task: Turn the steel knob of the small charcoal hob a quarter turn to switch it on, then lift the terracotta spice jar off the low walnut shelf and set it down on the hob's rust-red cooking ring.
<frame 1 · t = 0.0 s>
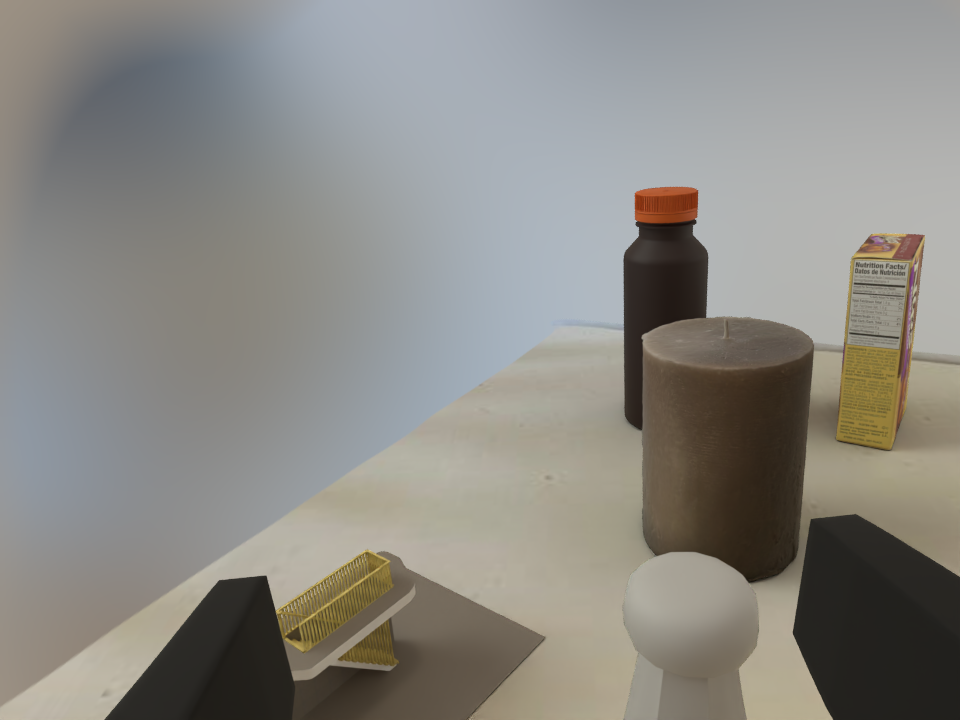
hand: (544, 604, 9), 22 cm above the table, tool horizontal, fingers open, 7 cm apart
bottle: (663, 419, 63), on the table
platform: (350, 696, 36), on the table
candy box: (869, 426, 59), on the table
pillar candle: (716, 538, 47), on the table
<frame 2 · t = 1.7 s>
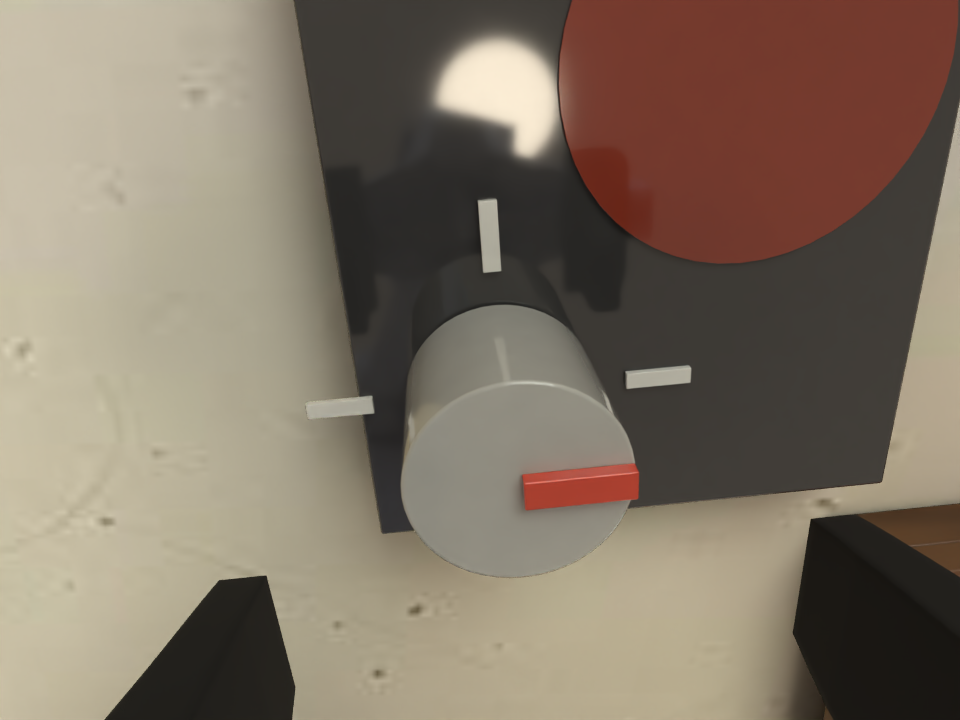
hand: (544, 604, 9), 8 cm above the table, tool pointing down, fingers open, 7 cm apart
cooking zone: (755, 69, 13), resting on hob
hob knob: (509, 438, 13), point 4 cm above the table, hinge at 0.0°
spice shelf: (920, 667, 23), on the table
hob: (617, 194, 16), on the table
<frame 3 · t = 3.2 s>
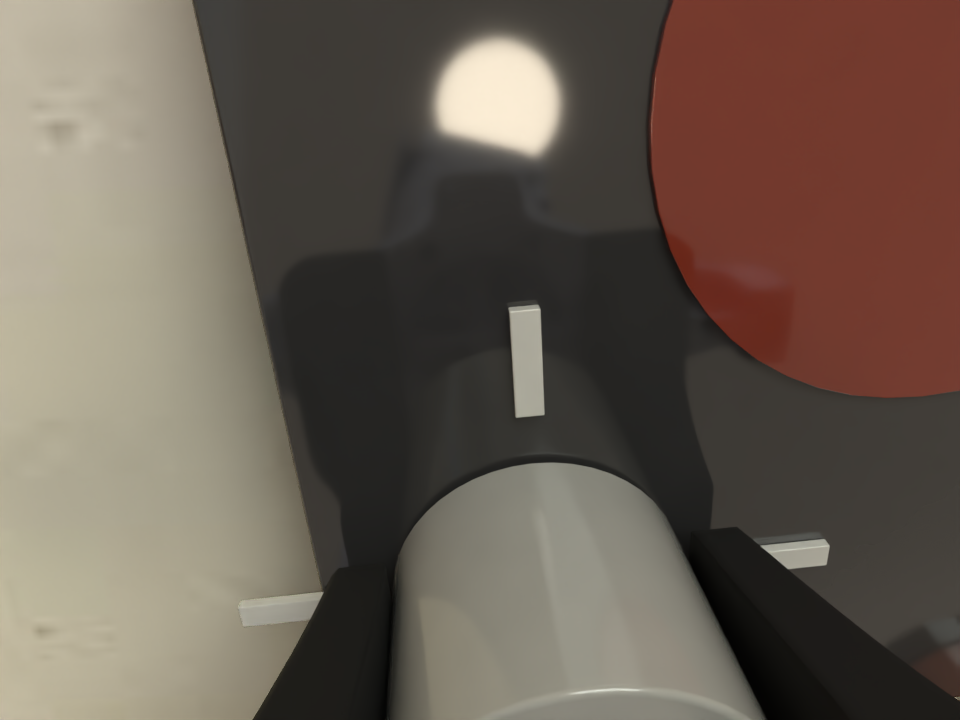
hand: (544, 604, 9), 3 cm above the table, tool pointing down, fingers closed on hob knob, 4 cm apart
hob knob: (560, 696, 8), point 4 cm above the table, hinge at 0.0°, touching gripper
hob: (711, 276, 10), on the table
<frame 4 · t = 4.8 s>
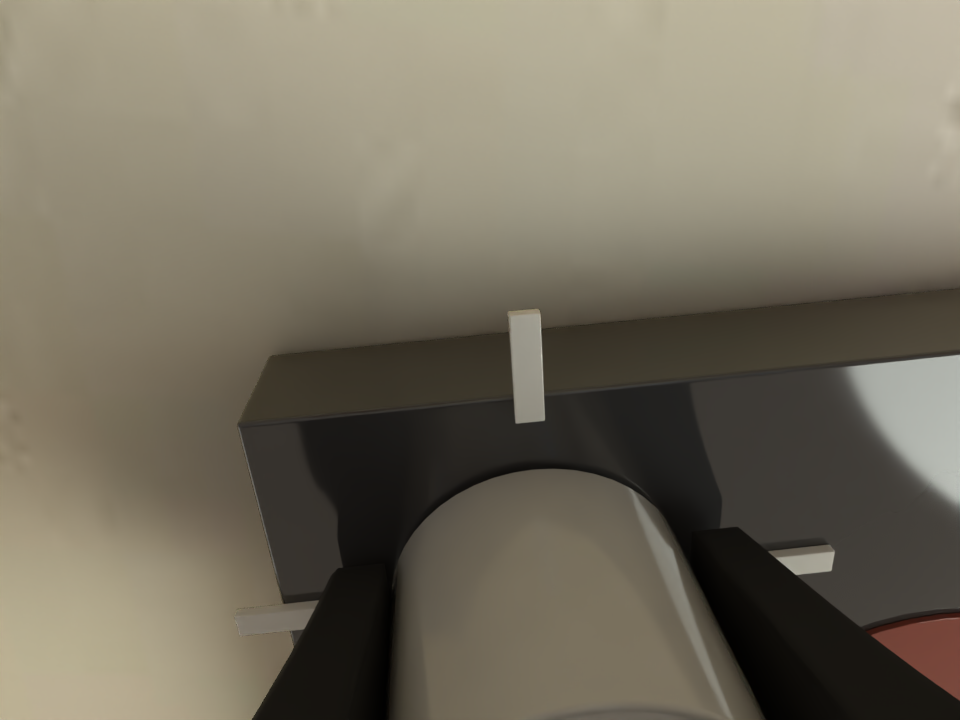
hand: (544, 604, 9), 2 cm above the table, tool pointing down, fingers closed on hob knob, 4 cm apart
hob knob: (562, 707, 8), point 4 cm above the table, hinge at 89.7°, touching gripper
hob: (717, 612, 13), on the table
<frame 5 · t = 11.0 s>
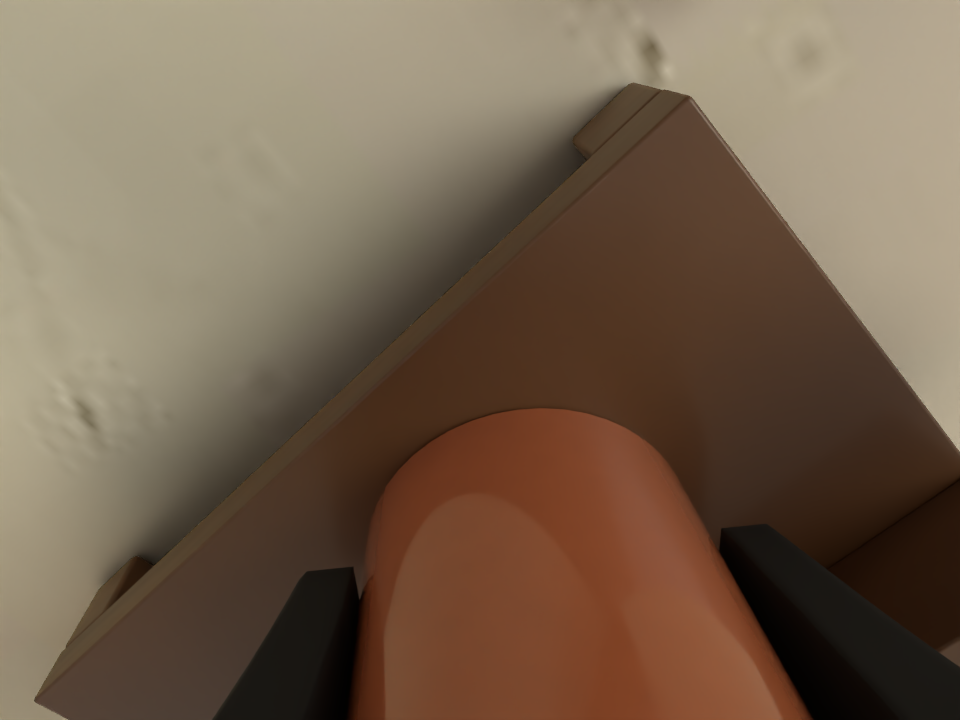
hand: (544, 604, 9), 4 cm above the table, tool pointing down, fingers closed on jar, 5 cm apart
jar: (529, 547, 11), point 3 cm above the table, touching gripper, spice shelf
spice shelf: (491, 504, 13), on the table
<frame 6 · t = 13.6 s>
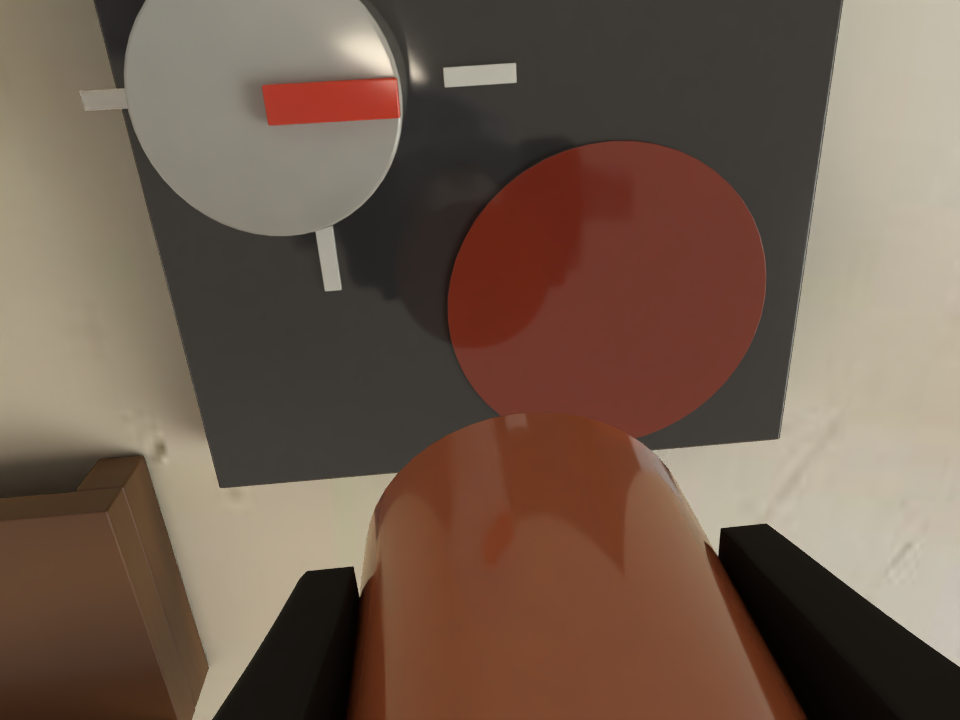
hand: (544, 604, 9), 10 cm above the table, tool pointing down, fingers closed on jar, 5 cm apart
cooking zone: (607, 305, 16), resting on hob
hob knob: (284, 94, 12), point 4 cm above the table, hinge at 89.5°
jar: (528, 551, 11), point 8 cm above the table, touching gripper
hob: (485, 205, 17), on the table
when the fingers open (3 cm above the table, at t = 16.2 s): jar stays where it is, resting on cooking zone.
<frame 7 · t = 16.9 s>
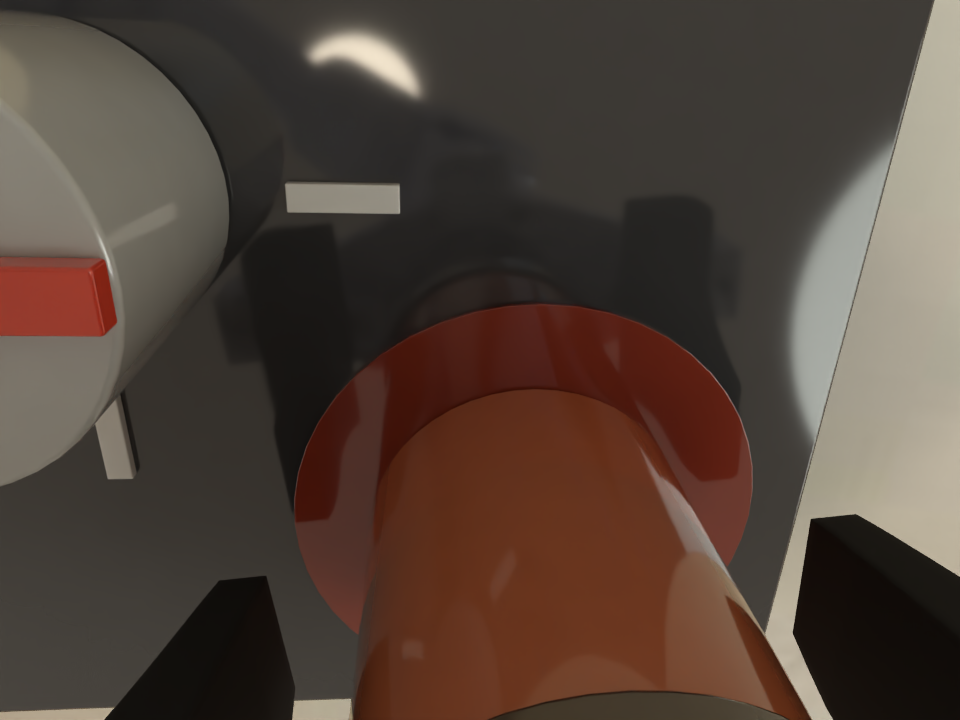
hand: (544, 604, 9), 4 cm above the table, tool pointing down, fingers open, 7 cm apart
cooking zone: (526, 515, 11), resting on hob
jar: (525, 522, 11), point 2 cm above the table, touching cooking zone
hob: (371, 349, 12), on the table
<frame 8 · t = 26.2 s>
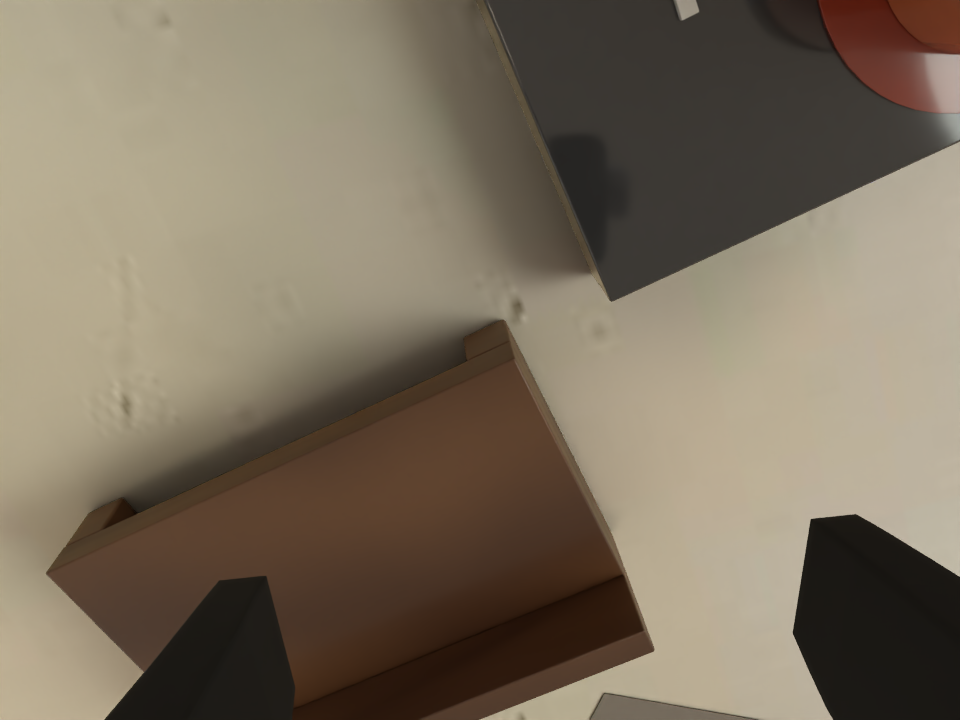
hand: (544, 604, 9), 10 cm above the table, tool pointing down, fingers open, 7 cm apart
spice shelf: (360, 523, 21), on the table
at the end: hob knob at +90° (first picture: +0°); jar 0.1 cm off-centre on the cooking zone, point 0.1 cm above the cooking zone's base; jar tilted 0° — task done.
